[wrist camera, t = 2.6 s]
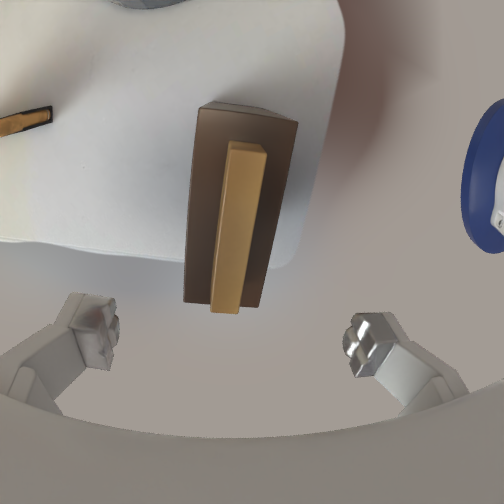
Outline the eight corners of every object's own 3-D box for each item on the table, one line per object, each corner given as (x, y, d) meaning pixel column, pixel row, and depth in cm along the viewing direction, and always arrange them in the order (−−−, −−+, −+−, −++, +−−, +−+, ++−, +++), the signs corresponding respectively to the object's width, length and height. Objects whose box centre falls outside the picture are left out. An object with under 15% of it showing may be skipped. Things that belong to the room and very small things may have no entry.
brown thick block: (264, 108, 25) (299, 121, 13) (244, 224, 30) (258, 308, 19) (210, 101, 24) (198, 107, 13) (196, 219, 30) (183, 302, 19)
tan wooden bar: (260, 144, 14) (267, 153, 12) (236, 288, 18) (238, 314, 16) (229, 139, 14) (230, 148, 12) (210, 287, 18) (209, 312, 16)
